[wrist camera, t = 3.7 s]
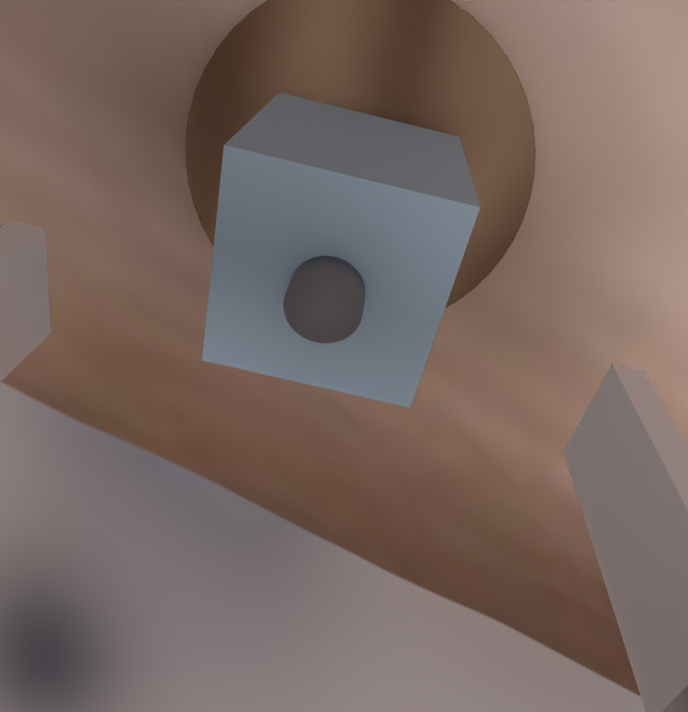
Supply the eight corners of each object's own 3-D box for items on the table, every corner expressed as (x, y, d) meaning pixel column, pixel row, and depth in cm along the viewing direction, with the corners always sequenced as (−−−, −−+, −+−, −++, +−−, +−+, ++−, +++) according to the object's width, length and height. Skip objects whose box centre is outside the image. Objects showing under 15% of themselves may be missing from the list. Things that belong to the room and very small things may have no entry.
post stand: (180, 283, 29) (89, 408, 21) (206, -71, 21) (77, -96, 13) (466, 349, 29) (489, 498, 21) (591, 27, 22) (703, 64, 13)
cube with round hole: (255, 260, 24) (191, 380, 17) (279, 92, 20) (212, 156, 13) (410, 296, 24) (410, 429, 17) (459, 136, 20) (484, 221, 14)
